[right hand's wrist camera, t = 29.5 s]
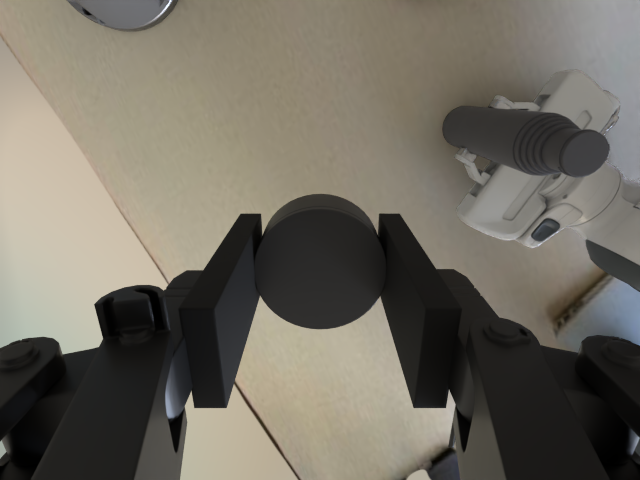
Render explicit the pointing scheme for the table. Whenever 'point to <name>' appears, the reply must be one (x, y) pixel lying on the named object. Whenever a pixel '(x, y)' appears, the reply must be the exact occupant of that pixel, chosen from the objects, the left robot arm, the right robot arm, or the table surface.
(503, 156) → the bottle
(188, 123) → the table surface
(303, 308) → the cap
